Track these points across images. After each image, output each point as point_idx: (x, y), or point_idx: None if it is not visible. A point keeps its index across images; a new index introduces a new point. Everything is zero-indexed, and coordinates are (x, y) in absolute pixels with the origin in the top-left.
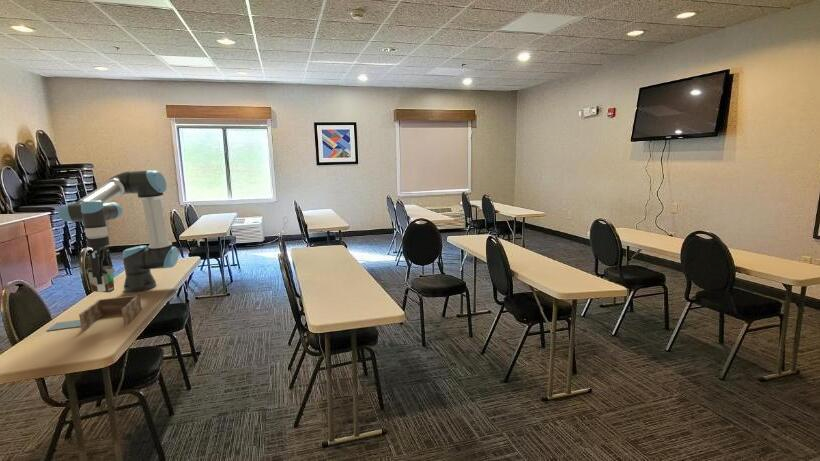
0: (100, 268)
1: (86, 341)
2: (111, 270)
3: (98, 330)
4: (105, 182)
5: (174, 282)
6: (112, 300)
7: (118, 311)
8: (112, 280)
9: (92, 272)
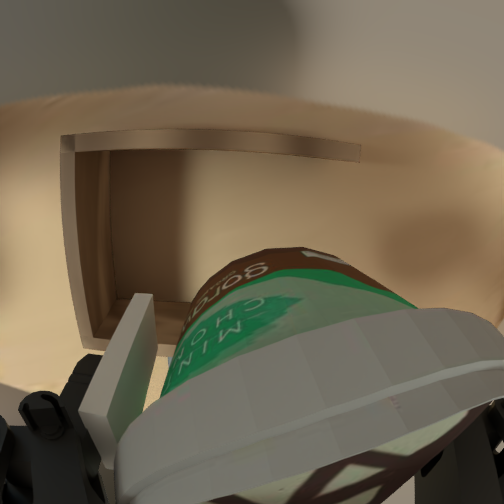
0: (491, 489)
1: (430, 256)
2: (497, 354)
3: (341, 251)
4: None
5: None
6: (88, 280)
7: (109, 238)
8: (351, 282)
9: (500, 471)
